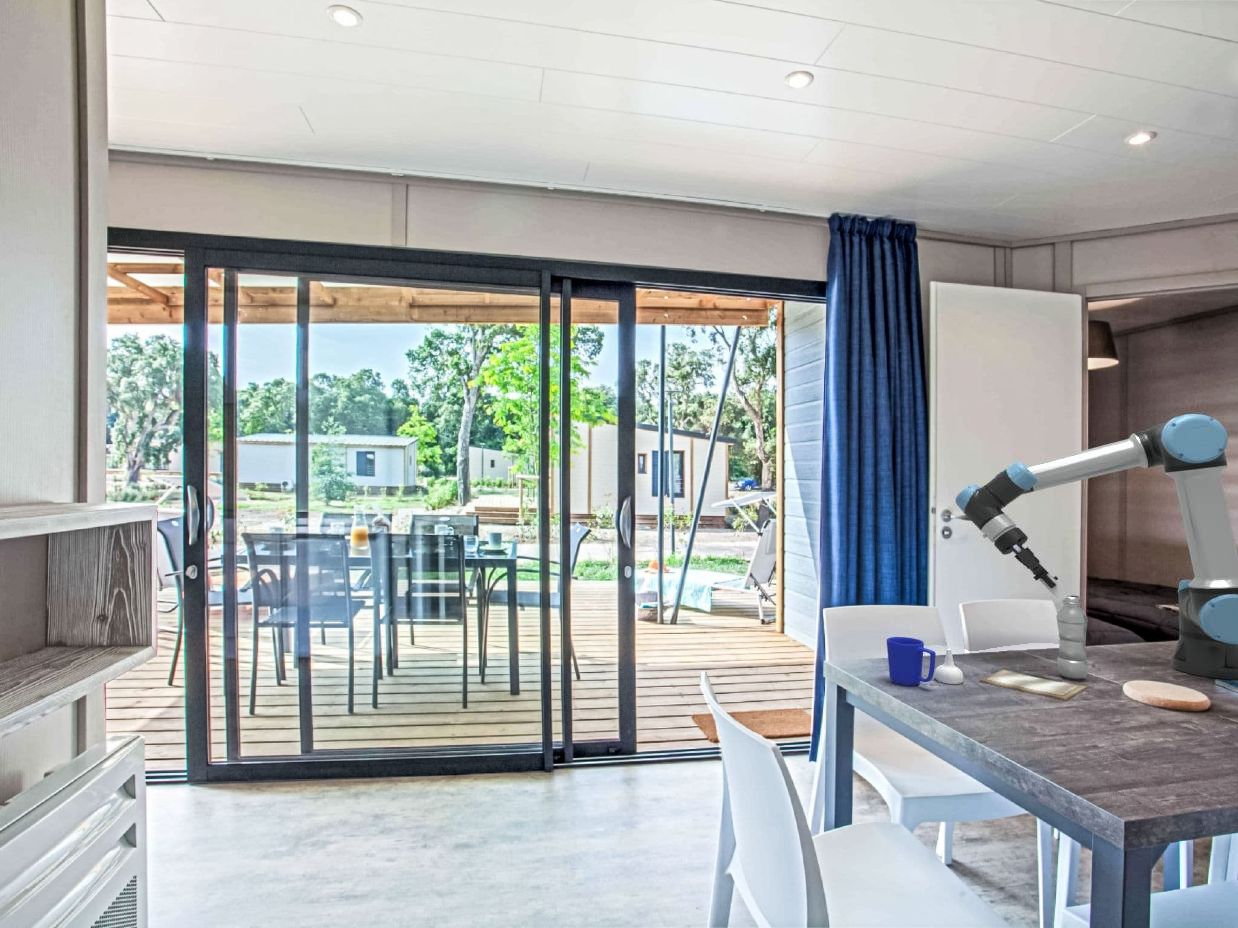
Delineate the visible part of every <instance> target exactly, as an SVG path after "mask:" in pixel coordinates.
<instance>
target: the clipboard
mask: <svg viewBox="0 0 1238 928" xmlns="http://www.w3.org/2000/svg"><path fill="white" fill-rule="evenodd" d="M982 682H983V683H984V684H988V685H993V686H996V687H1002V688H1005V689H1009V690H1010V689H1011V690H1015V691H1018V692H1019V691H1020V692H1023V693H1029V694H1032V695H1033V694H1034V695H1037V696H1042V697H1046V698H1050V699H1051V698H1052V699H1057V700H1061V701H1068V700H1069V699H1071V698H1073V697H1075V696H1076V695H1078V694H1080V693H1081V692H1084V691H1085V690H1087V688H1088V686H1086V685H1082V684H1078V683H1071V682H1067V681H1063V678H1062V677H1058V676H1053V675H1048V674H1044V673H1043V674H1042V673H1037V672H1033V671H1028V670H1024V671H1022V672H1017V671H1012V670H1006V669H1002V670H999V671H997V672H995V673H992V674H990V675H987V676H985V677H983V678H981V679H979V683H982Z"/></svg>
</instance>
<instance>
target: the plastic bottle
mask: <svg viewBox="0 0 1238 928" xmlns="http://www.w3.org/2000/svg"><path fill="white" fill-rule="evenodd" d="M1061 603H1062V604H1063V605H1062V607H1061V608H1060V609H1059V610H1058V611H1057V613H1056V624H1057V630H1058V638H1059V639H1058V642H1059V646H1058V657H1057V658H1056V659H1057V660H1056V669H1057V672H1058V674H1059V675H1060V676H1062V677H1064V678H1067V679H1070V680H1083V679H1086V678H1087V676H1088V675H1089V664H1088V661H1087V653H1086V652H1087V651H1086V634H1087V627H1088V621H1089V620H1088V617H1087V614H1086V613H1085V612H1084V610H1083V609H1082V608H1081V606H1080V605H1082V602H1081V596H1079V595H1074V594H1070V596H1069V597H1067V598H1066V599H1064V600H1063V601H1061Z"/></svg>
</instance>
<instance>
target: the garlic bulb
mask: <svg viewBox="0 0 1238 928" xmlns="http://www.w3.org/2000/svg"><path fill="white" fill-rule="evenodd" d="M945 653H946V654H945V658H944V662H943V664H940V665H938V666H937V667H935V669H934V674H933V676H934V678H935V680H937V682H940V683H942V682H943V683H942V684H945V683H947V684H946V685H961V684H962V683H964V682H963V681H964V673H963V672H962V670H961V669H960V668H959V667H957V666H955V662H954V658H953V652H952V648H946V652H945Z"/></svg>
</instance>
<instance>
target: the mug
mask: <svg viewBox="0 0 1238 928" xmlns="http://www.w3.org/2000/svg"><path fill="white" fill-rule="evenodd" d="M924 645H925V643H924V641H923V640H920V639H918V638H913V637H906V636H891V637H887V638H886V648H887V649H886V650H887V651H886V652H887V659H888V673H889V677H890V680H891V681H892V682H893V683H894V684H896V685H901V686H906V685H907V687H908V686H909V687H911V686H917V685H920V683H921V682H922V683H928V682H931V681H932V679H933V677H934V673H935V670H936V655H937V654H936V651H934V650H932V649H928V648H925V646H924ZM924 653H927V654H929V657H930V659H929V671H928V675H927V677H926V678H923V673H922V672H923V661H924V659H923V658H924Z"/></svg>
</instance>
